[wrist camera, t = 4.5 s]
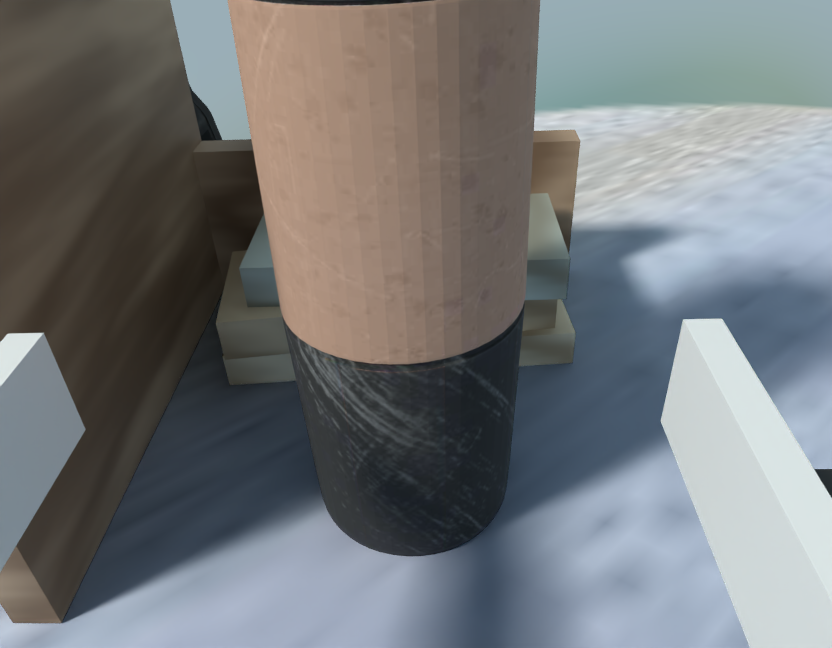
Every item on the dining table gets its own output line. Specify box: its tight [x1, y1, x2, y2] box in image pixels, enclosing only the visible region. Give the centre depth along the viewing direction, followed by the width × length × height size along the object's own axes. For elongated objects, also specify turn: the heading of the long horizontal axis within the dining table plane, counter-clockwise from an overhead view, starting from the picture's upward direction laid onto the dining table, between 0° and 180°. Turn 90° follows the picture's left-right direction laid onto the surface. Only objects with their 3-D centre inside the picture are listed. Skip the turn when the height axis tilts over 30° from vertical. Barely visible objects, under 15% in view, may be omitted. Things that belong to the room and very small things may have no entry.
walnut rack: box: [0, 0, 580, 623], centre depth 25 cm, size 21×22×20 cm
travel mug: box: [228, 0, 540, 556], centre depth 21 cm, size 8×8×20 cm
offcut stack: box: [216, 193, 576, 385], centre depth 33 cm, size 16×8×6 cm, turn 93°
